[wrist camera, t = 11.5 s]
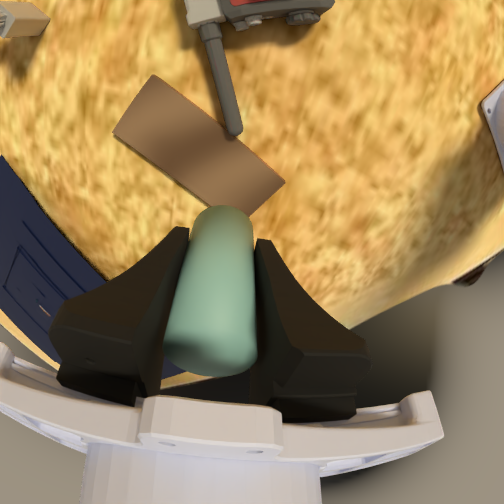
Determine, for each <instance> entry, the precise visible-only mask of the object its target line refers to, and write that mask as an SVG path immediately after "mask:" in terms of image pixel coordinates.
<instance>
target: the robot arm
mask: <svg viewBox="0 0 504 504" xmlns="http://www.w3.org/2000/svg"><path fill="white" fill-rule="evenodd" d="M481 107H482V110H483V112H484V114H485V117H486V119H487V122H488V125H489V127H490V130H491V133H492V136H493V139H494V141H495V144H496V148H497V151H498V154H499V157H500V161H501V164H502V168H503V172H504V81H503V82H502V83H500V84H499V85H498V86H497V87H496V88H495V89H494V90H493V91H492V92H491V93H490V94H489V95H488V96H487V97H486V98H485V99H484V100H483V101H482V104H481ZM487 110H488V112H487ZM188 241H189V228H185V227H178V226H176V227H174V228H173V229H172V230H171V231H170V232H169V234H168V235H167V236H166V237H165V238H164V239H163V240H162V241H161V242H160V243H159V244H158V245H157V246H155V247H154V248H153V249H152V250H151V251H150V252H149V253H148V254H147V255H146V256H144V257H143V258H142V259H141V260H140V261H138V262H137V263H136V264H135V265H133V266H132V267H131V268H129V269H128V270H126V271H125V272H124V273H122V274H120V275H119V276H117V277H115V278H114V279H112V280H110V281H109V282H107V283H105V284H103V285H101V286H99V287H97V288H95V289H93V290H91V291H89V292H86V293H84V294H81V295H79V296H76V297H73V298H71V299H68V300H65V301H64V302H63V304H62V305H61V307H60V308H59V310H58V312H57V314H56V316H55V318H54V320H53V322H52V324H51V326H50V328H49V330H48V336H49V339H50V341H51V343H52V345H53V347H54V349H55V350H56V352H57V353H58V355H59V357H60V358H61V360H62V363H61V365H60V368H59V371H58V373H54V372H52V371H49V370H46V369H44V368H41V367H39V366H36V365H34V364H32V363H29V362H27V361H25V360H22V359H20V358H18V357H16V356H15V355H14V354H13V352H12V351H11V349H10V348H9V347H8V346H7V345H6V344H4V343H3V342H1V341H0V411H1V412H2V413H4V414H6V415H7V416H9V417H11V418H12V419H14V420H16V421H18V422H19V423H21V424H23V425H25V426H27V427H28V428H30V429H32V430H34V431H36V432H38V433H40V434H42V435H44V436H46V437H48V438H50V439H52V440H54V441H57V442H59V443H61V444H63V445H66V446H68V447H70V448H72V449H75V450H77V451H80V452H82V453H85V454H87V456H86V461H85V467H84V473H83V480H82V487H81V494H80V504H322V500H321V488H320V478H319V477H324V476H329V475H335V474H340V473H344V472H350V471H354V470H358V469H362V468H366V467H370V466H374V465H377V464H381V463H385V462H388V461H392V460H395V459H398V458H402V457H405V456H408V455H410V454H412V453H415V452H417V451H419V450H421V449H423V448H425V447H427V446H429V445H430V444H432V443H434V442H436V441H438V440H440V439H441V438H443V437H444V433H443V429H442V425H441V422H440V419H439V416H438V412H437V409H436V406H435V403H434V400H433V397H432V394H431V391H424V392H419V393H414V394H411V395H409V396H407V397H405V398H404V399H403V400H402V401H400V403H396V404H390V405H384V406H377V407H369V408H361V409H356V406H355V402H354V396H356V394H357V392H356V388H355V385H356V384H357V383H359V381H360V380H361V379H363V377H365V375H366V374H367V373H368V372H369V371H370V369H371V367H372V360H371V356H370V353H369V349H368V346H367V344H366V341H365V340H364V339H362V338H361V337H359V336H358V335H356V334H355V333H353V332H352V331H350V330H348V329H347V328H346V327H344V326H343V325H342V324H340V323H339V322H338V321H336V320H335V319H334V318H333V317H331V316H330V315H329V314H328V313H327V312H326V311H325V310H323V309H322V308H321V307H320V306H319V305H318V304H317V303H316V302H315V301H314V300H313V299H312V298H311V297H310V296H309V295H308V294H307V292H306V291H305V290H304V289H303V288H302V287H301V285H300V284H299V283H298V282H297V280H296V279H295V278H294V276H293V275H292V273H291V272H290V271H289V269H288V268H287V266H286V265H285V263H284V261H283V260H282V258H281V256H280V255H279V253H278V251H277V250H276V248H275V246H274V245H273V243H272V241H271V240H265V239H259V238H257V242H256V246H255V250H254V268H255V295H256V323H257V352H258V356H257V360H256V362H255V363H254V365H253V366H252V367H251V368H250V388H249V403H248V404H238V403H237V404H236V403H226V402H215V401H206V400H198V399H190V398H183V397H177V396H165V395H159V394H160V385H161V377H162V369H163V362H164V356H165V354H164V352H163V348H162V345H163V340H164V336H165V331H166V327H167V323H168V318H169V314H170V310H171V306H172V302H173V298H174V294H175V290H176V286H177V282H178V278H179V274H180V271H181V267H182V263H183V260H184V256H185V252H186V249H187V245H188Z"/></svg>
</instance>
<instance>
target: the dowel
mask: <svg viewBox="0 0 504 504" xmlns="http://www.w3.org/2000/svg"><path fill="white" fill-rule="evenodd" d="M162 348H163V352H164V354H165V356H166V357H167V359H168V360H169V361H170V362H172V363H173V364H174V365H176V366H177V367H179V368H181V369H183V370H185V371H188V372H191V373H194V374H198V375H203V376H212V377H222V376H231V375H235V374H238V373H241V372H244V371H246V370H247V369H249V368H251V367H252V366H253V365H254V363H255V362H256V360H257V356H258V352H257V323H256V295H255V268H254V240H253V226H252V223H251V221H250V219H249V218H248V217H247V215H246V214H245V213H243V212H242V211H241V210H239V209H237V208H235V207H232V206H227V205H217V206H212V207H209V208H207V209H205V210H204V211H202V212H201V213H200V214H199V215H198V216H197V218H196V220H195V222H194V225H193V228H192V232H191V235H190V238H189V242H188V245H187V249H186V252H185V256H184V260H183V263H182V267H181V271H180V274H179V278H178V282H177V286H176V290H175V294H174V298H173V302H172V306H171V310H170V314H169V318H168V323H167V327H166V331H165V336H164V340H163V345H162Z"/></svg>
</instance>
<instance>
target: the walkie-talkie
mask: <svg viewBox="0 0 504 504" xmlns="http://www.w3.org/2000/svg"><path fill="white" fill-rule="evenodd" d="M184 2H185V6H186V10H187V15H186V20H187V23H188V26H189V27H191V28H192V29H197V28H198V30H199V34H200V37H201V41H202V42H203V43H204V44H205V48H206V51H207V55H208V59H209V63H210V66H211V70H212V74H213V78H214V81H215V85H216V89H217V93H218V97H219V100H220V104H221V108H222V112H223V116H224V119H225V123H226V127H227V131H228V133H229V134H230V135H233V136H237V135H240V134H241V133H242V131H243V125H242V121H241V116H240V112H239V108H238V104H237V100H236V96H235V92H234V88H233V84H232V80H231V76H230V72H229V68H228V64H227V60H226V56H225V53H224V49H223V45H222V41H221V39H222V37H223V36H222V33H221V29H220V25H219V23H221V22H225V21H228V22H229V23H231V24H232V25H233V26H235V28H236V31H242V30H246V29H249V26H254V25H259V24H262V21H261V20H263V19H270V18H278V17H286V18H285V20H286V23H287V24H288V25H305V24H312V23H316V22H319V20H320V16H319V15H318V14H323V13H324V12H326V11H327V10H329V9H330V8H332V6H333V5H334V3H335V0H184Z"/></svg>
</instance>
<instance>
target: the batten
mask: <svg viewBox="0 0 504 504" xmlns="http://www.w3.org/2000/svg"><path fill="white" fill-rule="evenodd" d="M112 133H114V134H115V135H117V136H118V137H119V138H121V139H122V140H123V141H125V142H126V143H127V144H129V145H130V146H131V147H133V148H134V149H135V150H137V151H138V152H140V153H141V154H142V155H144V156H145V157H146V158H148V159H149V160H150V161H152V162H153V163H154V164H156V165H157V166H158V167H160V168H161V169H162V170H164V171H165V172H166V173H168V174H169V175H170V176H172V177H173V178H174V179H176V180H177V181H178V182H180V183H181V184H182V185H184V186H185V187H186V188H188V189H189V190H190V191H192V192H193V193H194V194H196V195H197V196H198V197H200V198H201V199H202V200H204V201H205V202H206V203H208V204H209V205H210V206H211V207H212V206H217V205H227V206H232V207H235V208H237V209H239V210H241V211H242V212H243V213H245V214H246V215H247V217H249V216H250V215H251V214H252V213H254V212H255V211H256V210H257V209H258V208H259V207H260V206H261V205H262V204H263V203H264V202H265V201H266V200H268V199H269V198H270V197H271V196H272V195H273V194H274V193H275V192H276V191H277V190H278V189H279V188H281V187H282V186H283V185H284V184H285V180H284V179H283V178H282V177H280V176H279V175H278V174H277V173H276V172H275V171H274V170H273V169H272V168H271V167H269V166H268V165H267V164H266V163H265V162H264V161H263V160H262V159H260V158H259V157H258V156H257V155H256V154H255V153H254V152H252V151H251V150H250V149H249V148H248V147H247V146H245V145H244V144H243V143H242V142H241V141H240V140H238V139H237V138H236V137H235V136H233V135H230V134H229V133H228V131H227V130H226V129H225V128H224V127H223V126H222V125H220V124H219V123H218V122H217V121H215V120H214V119H213V118H212V117H210V116H209V115H208V114H207V113H205V112H204V111H203V110H201V109H200V108H199V107H198V106H196V105H195V104H194V103H192V102H191V101H190V100H189V99H187V98H186V97H185V96H183V95H182V94H181V93H179V92H178V91H177V90H175V89H174V88H173V87H171V86H170V85H168V84H167V83H166V82H164V81H163V80H162V79H160V78H159V77H157V76H156V75H152V76H151V77H150V78H149V79H148V81H147V82H146V83H145V85H144V86H143V87H142V89H141V90H140V91H139V93H138V94H137V96H136V97H135V98H134V100H133V101H132V103H131V104H130V106H129V107H128V109H127V110H126V111H125V113H124V114H123V116H122V118H121V119H120V121H119V122H118V124H117V125H116V127H115V128H114V130H113V132H112Z"/></svg>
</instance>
